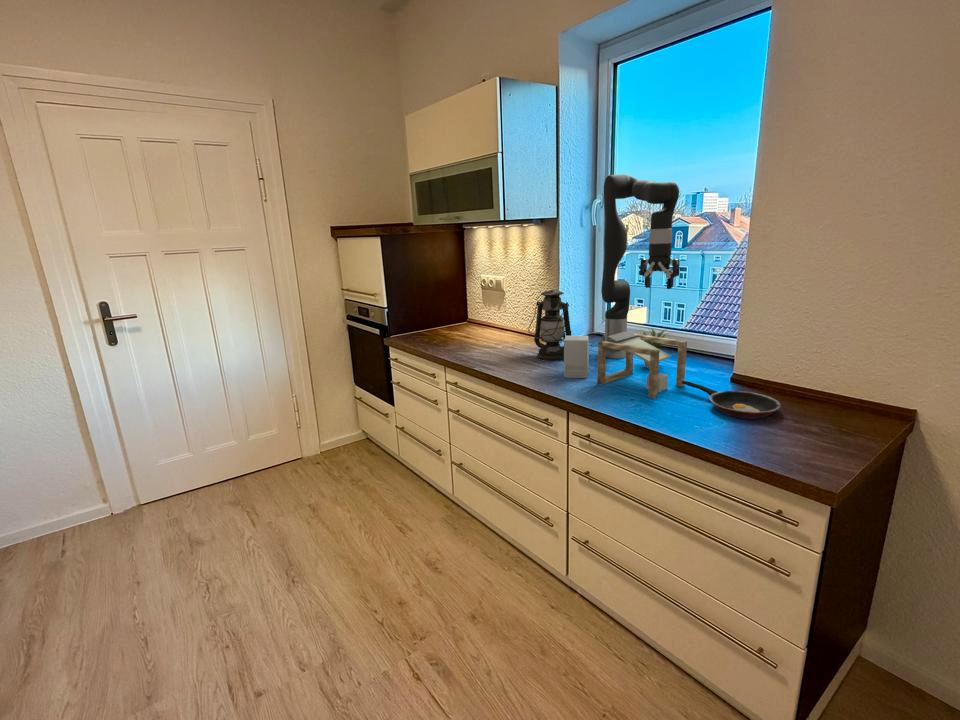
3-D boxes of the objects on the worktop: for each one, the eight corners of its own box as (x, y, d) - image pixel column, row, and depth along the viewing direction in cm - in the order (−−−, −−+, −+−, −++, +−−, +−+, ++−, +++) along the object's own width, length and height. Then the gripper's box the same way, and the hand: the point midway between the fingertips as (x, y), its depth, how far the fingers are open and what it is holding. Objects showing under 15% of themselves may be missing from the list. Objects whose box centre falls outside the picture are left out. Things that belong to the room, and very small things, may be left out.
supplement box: (588, 371, 191) (589, 335, 187) (587, 378, 182) (588, 340, 178) (565, 371, 193) (565, 334, 189) (563, 377, 185) (563, 339, 181)
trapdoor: (601, 349, 173) (605, 336, 171) (625, 342, 182) (629, 330, 179) (645, 374, 161) (650, 361, 159) (668, 365, 170) (673, 353, 167)
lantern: (579, 355, 215) (579, 289, 208) (559, 366, 201) (558, 294, 193) (542, 351, 226) (541, 287, 219) (521, 360, 212) (519, 293, 204)
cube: (647, 375, 166) (660, 378, 162) (655, 372, 169) (668, 375, 165) (646, 389, 168) (659, 392, 164) (654, 385, 170) (667, 389, 167)
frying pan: (752, 427, 133) (753, 414, 132) (661, 396, 160) (662, 385, 159) (793, 413, 141) (795, 401, 140) (700, 385, 168) (701, 375, 167)
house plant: (677, 364, 195) (679, 324, 190) (669, 373, 184) (671, 331, 179) (641, 360, 202) (643, 322, 198) (632, 369, 191) (633, 329, 187)
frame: (597, 384, 175) (598, 341, 171) (628, 372, 187) (629, 332, 182) (653, 398, 158) (656, 351, 154) (684, 385, 169) (687, 341, 165)
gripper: (685, 241, 166) (682, 288, 170) (648, 241, 177) (646, 286, 181) (673, 242, 161) (670, 290, 166) (636, 243, 172) (635, 288, 176)
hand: (658, 288), depth 173 cm, fingers open, 8 cm apart
